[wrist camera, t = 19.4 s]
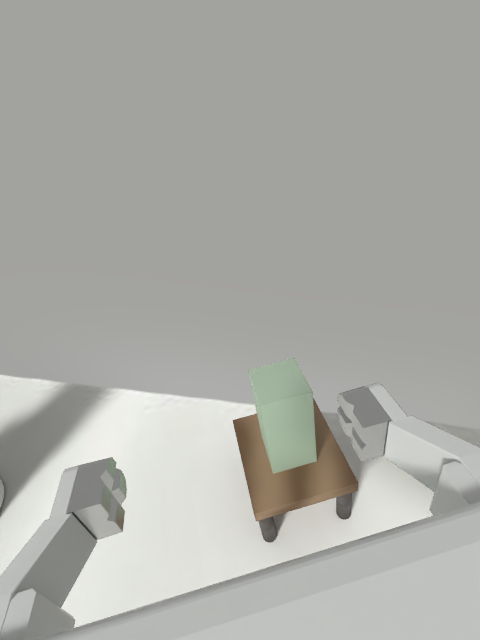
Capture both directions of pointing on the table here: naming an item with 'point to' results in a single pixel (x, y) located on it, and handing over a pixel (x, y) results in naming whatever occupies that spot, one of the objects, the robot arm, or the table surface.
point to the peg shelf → (293, 475)
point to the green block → (285, 414)
